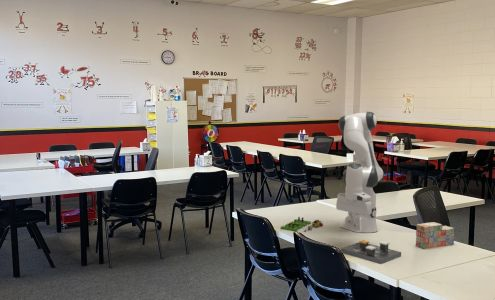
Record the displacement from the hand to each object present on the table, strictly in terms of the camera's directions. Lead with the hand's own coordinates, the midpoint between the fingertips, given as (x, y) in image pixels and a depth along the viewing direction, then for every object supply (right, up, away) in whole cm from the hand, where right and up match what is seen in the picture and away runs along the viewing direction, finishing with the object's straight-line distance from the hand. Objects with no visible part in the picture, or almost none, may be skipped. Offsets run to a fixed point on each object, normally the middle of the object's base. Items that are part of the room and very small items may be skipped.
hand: (352, 220), depth 253 cm
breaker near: (+6, -14, -14) cm, 21 cm away
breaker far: (+15, -14, -6) cm, 21 cm away
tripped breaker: (+5, -13, -4) cm, 15 cm away
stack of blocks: (+47, -15, +9) cm, 50 cm away
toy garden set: (-21, -11, +45) cm, 51 cm away
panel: (+7, -16, -7) cm, 19 cm away
